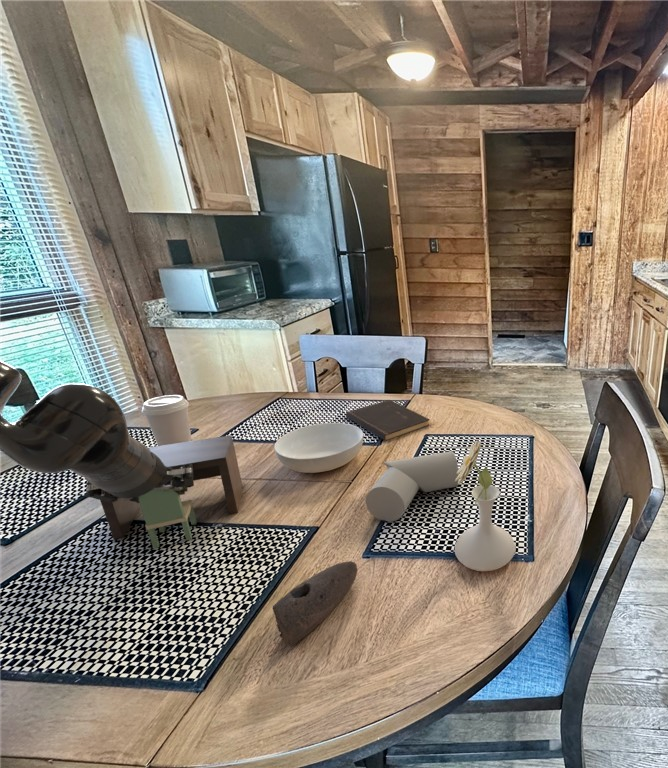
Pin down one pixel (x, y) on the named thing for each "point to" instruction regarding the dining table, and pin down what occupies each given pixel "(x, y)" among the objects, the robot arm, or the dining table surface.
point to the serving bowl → (319, 447)
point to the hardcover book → (388, 419)
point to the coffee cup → (168, 419)
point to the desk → (206, 462)
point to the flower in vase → (483, 524)
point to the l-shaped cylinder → (410, 483)
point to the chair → (165, 512)
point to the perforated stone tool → (312, 601)
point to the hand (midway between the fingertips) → (162, 493)
